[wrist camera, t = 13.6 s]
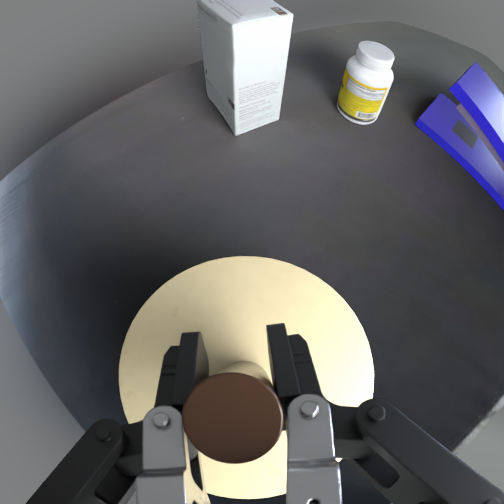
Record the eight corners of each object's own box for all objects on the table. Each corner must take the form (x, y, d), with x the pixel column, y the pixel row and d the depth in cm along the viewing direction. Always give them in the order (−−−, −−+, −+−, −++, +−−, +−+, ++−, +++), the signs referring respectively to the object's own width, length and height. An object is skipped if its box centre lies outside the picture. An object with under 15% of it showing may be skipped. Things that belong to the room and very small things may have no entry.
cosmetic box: (206, 97, 34) (189, -5, 20) (249, 81, 35) (246, -18, 20) (237, 140, 31) (227, 23, 17) (284, 121, 32) (295, 9, 18)
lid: (209, 520, 12) (179, 612, 4) (90, 335, 16) (-15, 314, 7) (405, 405, 14) (505, 430, 6) (281, 219, 18) (298, 117, 10)
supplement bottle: (350, 90, 34) (367, 32, 25) (384, 113, 33) (409, 57, 24) (327, 107, 33) (342, 44, 24) (363, 133, 32) (388, 71, 22)
